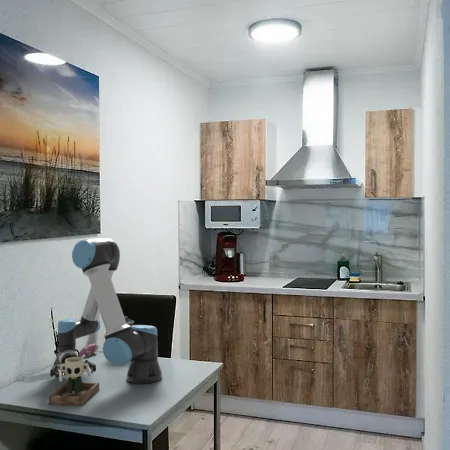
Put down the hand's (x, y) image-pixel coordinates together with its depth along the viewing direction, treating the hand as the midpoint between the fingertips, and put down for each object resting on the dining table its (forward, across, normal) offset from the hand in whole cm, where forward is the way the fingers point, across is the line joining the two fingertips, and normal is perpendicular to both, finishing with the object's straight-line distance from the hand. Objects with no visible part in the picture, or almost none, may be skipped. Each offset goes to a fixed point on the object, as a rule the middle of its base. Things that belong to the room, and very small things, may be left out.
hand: (75, 376), depth 205 cm
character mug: (-4, 0, -8) cm, 9 cm away
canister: (-54, -30, -10) cm, 62 cm away
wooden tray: (-4, 0, -10) cm, 10 cm away
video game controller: (-63, -14, -10) cm, 65 cm away
